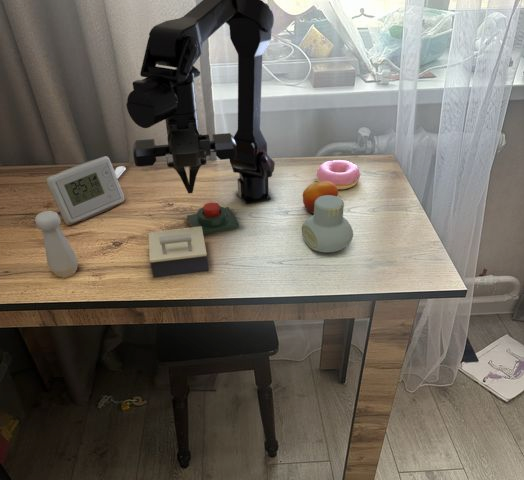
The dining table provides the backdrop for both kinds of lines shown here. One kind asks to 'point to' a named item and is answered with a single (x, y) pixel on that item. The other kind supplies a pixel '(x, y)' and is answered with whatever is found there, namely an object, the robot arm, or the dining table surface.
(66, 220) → the digital clock
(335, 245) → the air freshener
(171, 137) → the robot arm
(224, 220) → the alarm box
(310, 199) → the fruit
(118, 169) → the spoon
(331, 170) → the doughnut
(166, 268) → the dark rimmed tray
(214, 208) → the alarm button
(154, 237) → the beige panel
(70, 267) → the salt shaker
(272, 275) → the dining table surface
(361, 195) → the dining table surface
